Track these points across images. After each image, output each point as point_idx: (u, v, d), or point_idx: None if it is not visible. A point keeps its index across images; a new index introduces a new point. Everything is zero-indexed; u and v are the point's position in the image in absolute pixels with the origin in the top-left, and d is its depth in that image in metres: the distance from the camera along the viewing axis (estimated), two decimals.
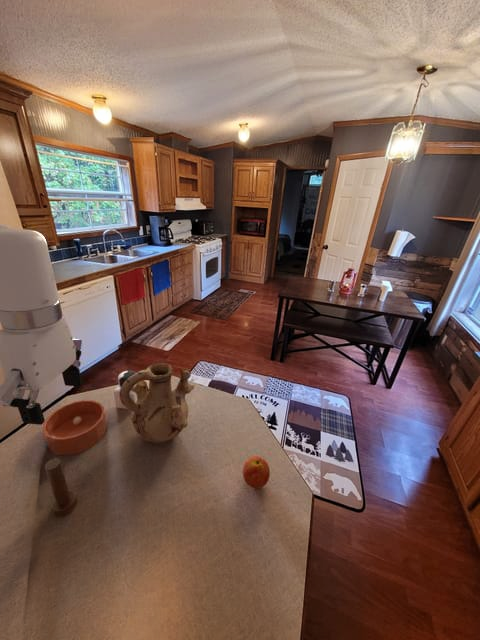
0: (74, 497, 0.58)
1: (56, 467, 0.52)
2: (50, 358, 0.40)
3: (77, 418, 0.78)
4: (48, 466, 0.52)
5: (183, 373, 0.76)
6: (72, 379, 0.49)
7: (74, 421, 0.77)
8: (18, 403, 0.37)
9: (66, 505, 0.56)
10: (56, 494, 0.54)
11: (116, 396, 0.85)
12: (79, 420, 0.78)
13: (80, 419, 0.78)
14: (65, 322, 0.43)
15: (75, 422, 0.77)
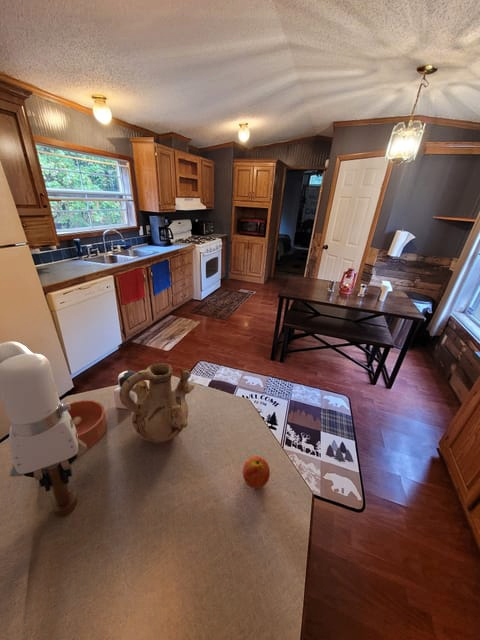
0: (74, 497, 0.58)
1: (56, 467, 0.52)
2: (35, 455, 0.48)
3: (77, 418, 0.78)
4: (48, 466, 0.52)
5: (183, 373, 0.76)
6: None
7: (74, 421, 0.77)
8: (28, 474, 0.50)
9: (66, 505, 0.56)
10: (56, 494, 0.54)
11: (116, 396, 0.85)
12: (79, 420, 0.78)
13: (80, 419, 0.78)
14: (63, 428, 0.49)
15: (75, 422, 0.77)
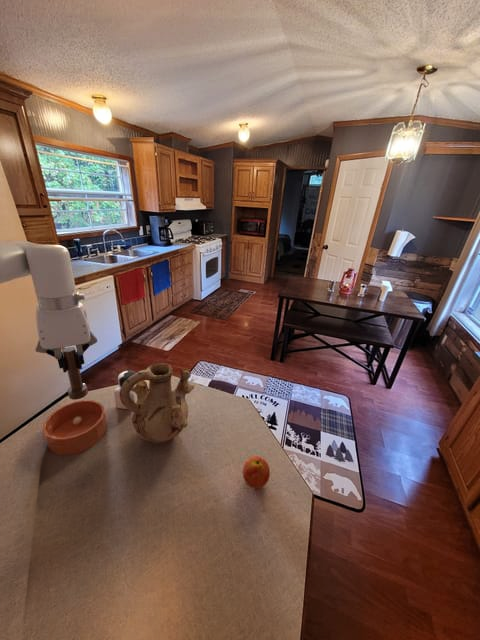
0: (86, 386, 0.69)
1: (72, 351, 0.63)
2: (56, 332, 0.58)
3: (77, 418, 0.78)
4: (65, 350, 0.63)
5: (183, 373, 0.76)
6: None
7: (74, 421, 0.77)
8: (50, 352, 0.61)
9: (79, 390, 0.67)
10: (71, 378, 0.65)
11: (116, 396, 0.85)
12: (79, 420, 0.78)
13: (80, 419, 0.78)
14: (79, 313, 0.59)
15: (75, 422, 0.77)
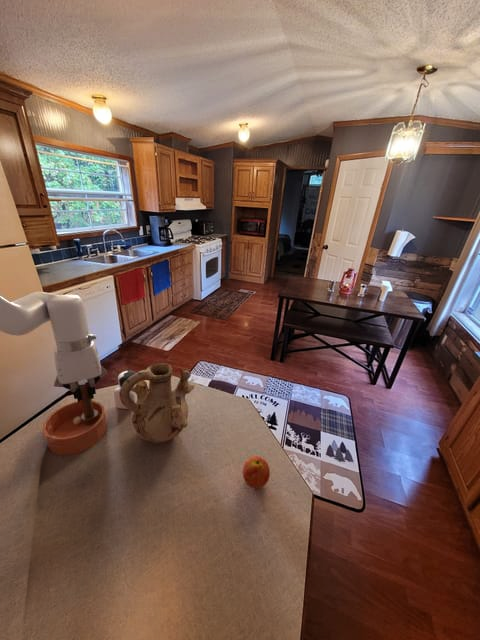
0: (97, 413, 0.77)
1: (85, 384, 0.71)
2: (72, 369, 0.66)
3: (77, 418, 0.78)
4: (79, 383, 0.71)
5: (183, 373, 0.76)
6: None
7: (74, 421, 0.77)
8: (66, 386, 0.69)
9: (91, 417, 0.75)
10: (84, 406, 0.73)
11: (116, 396, 0.85)
12: (79, 420, 0.78)
13: (80, 419, 0.78)
14: (91, 351, 0.68)
15: (75, 422, 0.77)
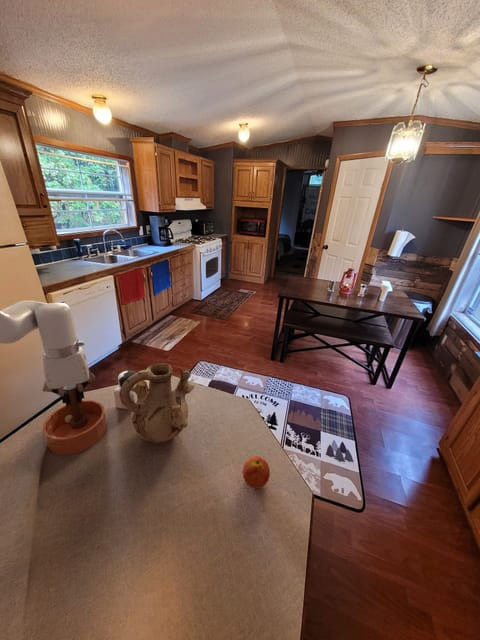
0: (85, 416, 0.79)
1: (73, 388, 0.73)
2: (60, 375, 0.68)
3: None
4: (68, 388, 0.73)
5: (183, 373, 0.76)
6: (78, 396, 0.75)
7: (65, 421, 0.78)
8: (54, 391, 0.71)
9: (80, 421, 0.77)
10: (73, 410, 0.75)
11: (116, 396, 0.85)
12: None
13: None
14: (79, 358, 0.70)
15: (65, 421, 0.78)
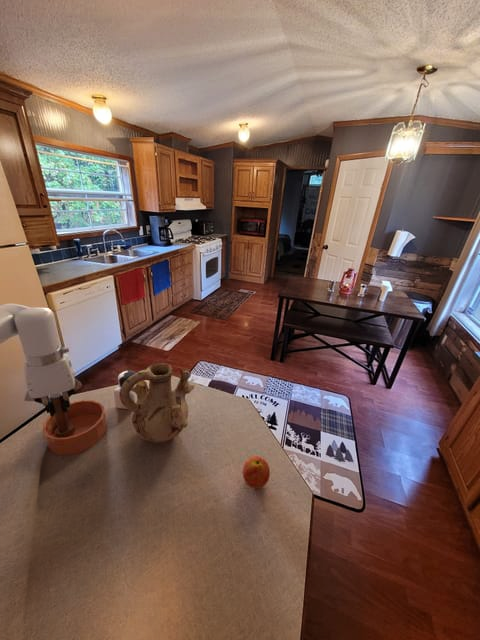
0: (72, 426, 0.75)
1: (58, 397, 0.69)
2: (43, 384, 0.65)
3: None
4: (52, 396, 0.69)
5: (183, 373, 0.76)
6: None
7: None
8: (37, 400, 0.67)
9: (66, 431, 0.73)
10: (58, 420, 0.72)
11: (116, 396, 0.85)
12: None
13: None
14: (63, 365, 0.66)
15: None
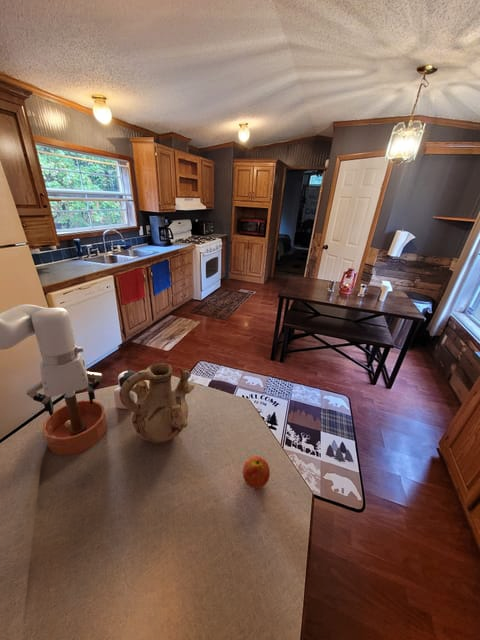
0: (85, 425, 0.76)
1: (72, 396, 0.70)
2: (58, 382, 0.66)
3: None
4: (66, 396, 0.70)
5: (183, 373, 0.76)
6: (89, 397, 0.74)
7: (69, 420, 0.77)
8: (36, 399, 0.66)
9: (79, 429, 0.74)
10: (72, 419, 0.73)
11: (116, 396, 0.85)
12: None
13: None
14: (78, 364, 0.67)
15: None
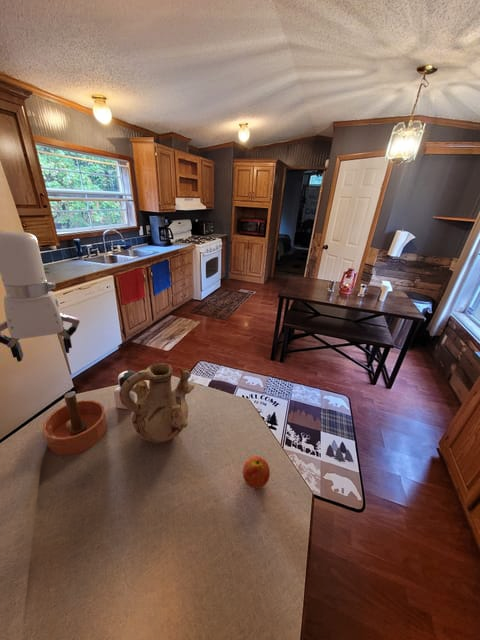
0: (85, 425, 0.76)
1: (72, 396, 0.70)
2: (25, 321, 0.57)
3: None
4: (66, 396, 0.70)
5: (183, 373, 0.76)
6: None
7: None
8: (1, 340, 0.58)
9: (79, 429, 0.74)
10: (72, 419, 0.73)
11: (116, 396, 0.85)
12: None
13: None
14: (49, 302, 0.59)
15: None
